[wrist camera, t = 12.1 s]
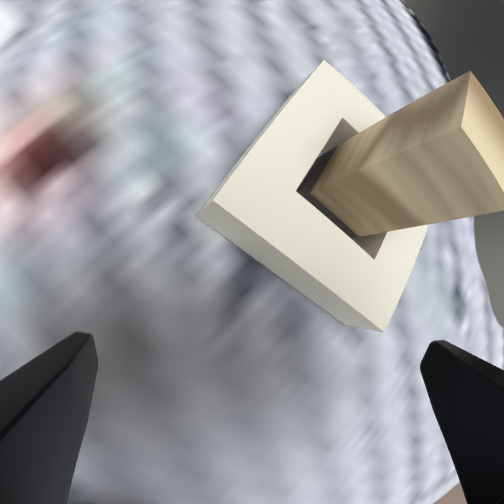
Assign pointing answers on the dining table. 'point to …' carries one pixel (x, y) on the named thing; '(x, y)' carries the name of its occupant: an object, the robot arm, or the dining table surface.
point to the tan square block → (415, 165)
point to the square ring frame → (313, 208)
